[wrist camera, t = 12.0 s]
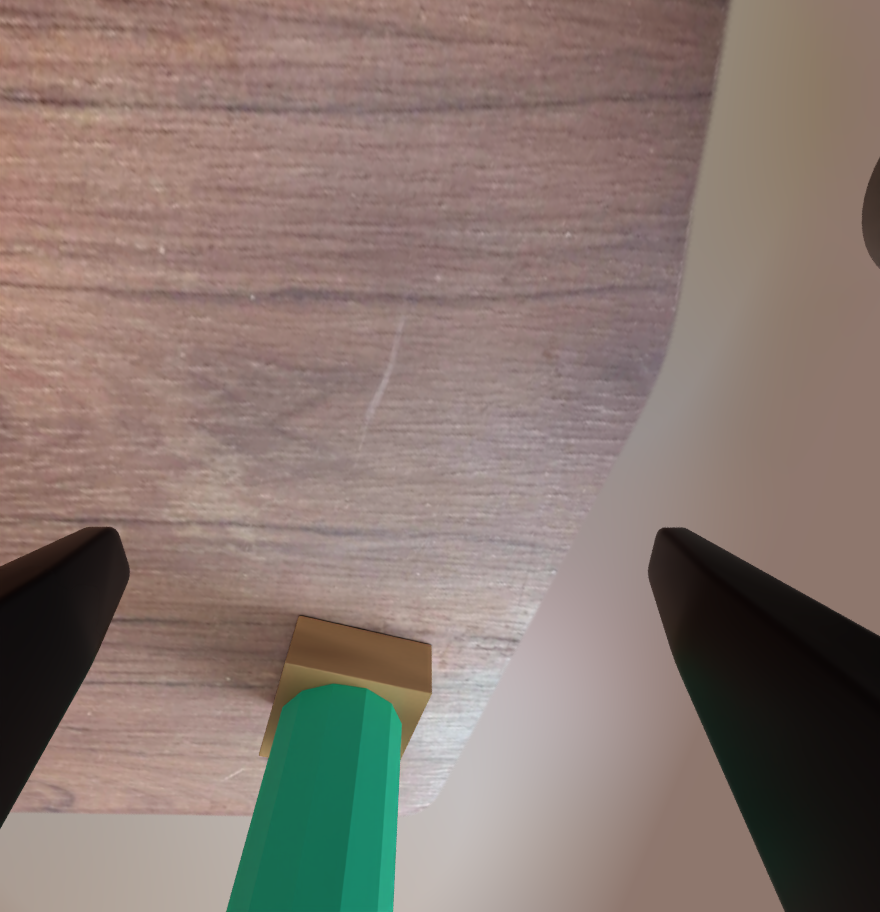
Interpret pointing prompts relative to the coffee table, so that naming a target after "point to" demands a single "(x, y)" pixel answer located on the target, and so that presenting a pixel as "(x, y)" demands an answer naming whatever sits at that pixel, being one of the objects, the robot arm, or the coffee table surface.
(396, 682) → the maple block
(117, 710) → the coffee table surface
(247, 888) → the candle
